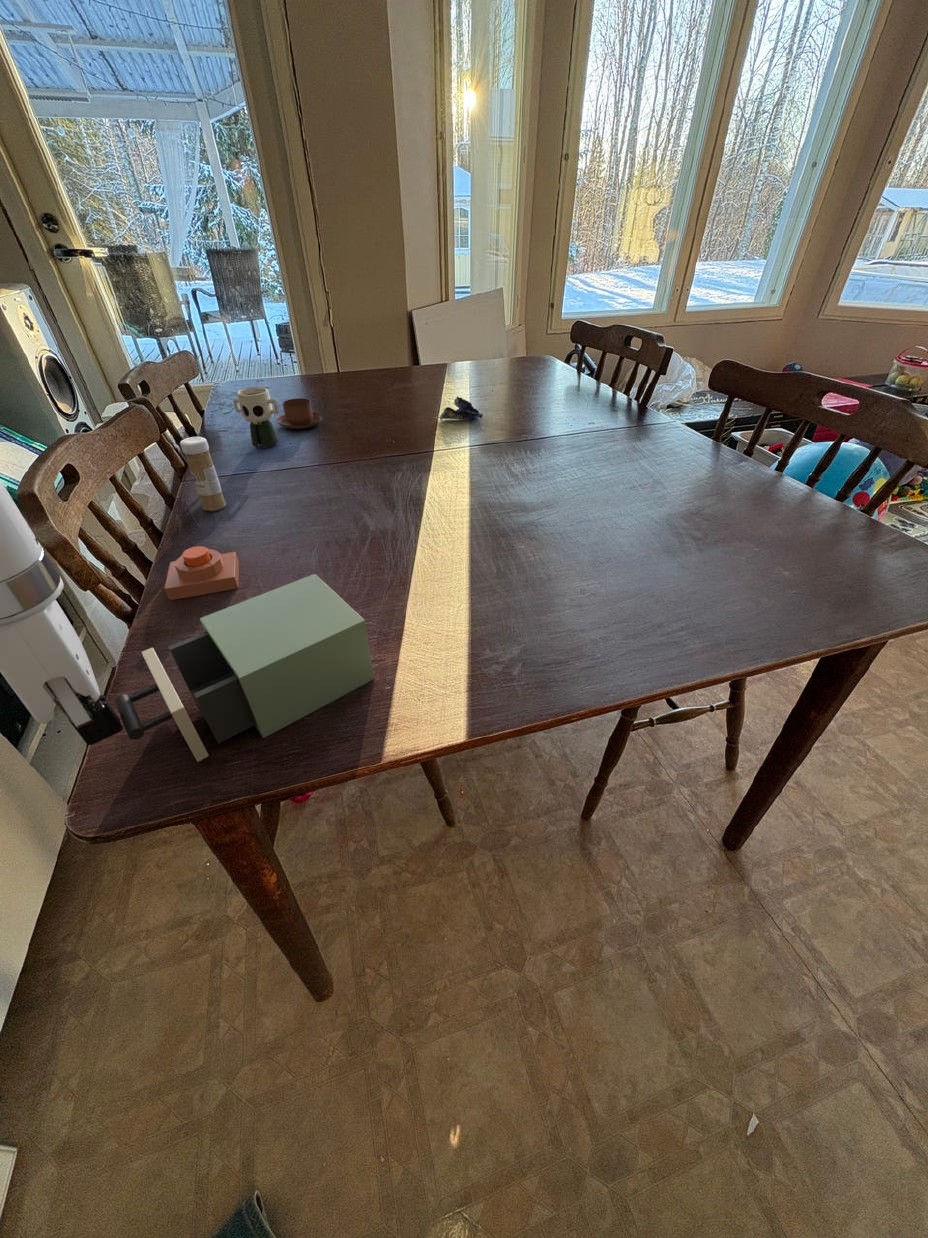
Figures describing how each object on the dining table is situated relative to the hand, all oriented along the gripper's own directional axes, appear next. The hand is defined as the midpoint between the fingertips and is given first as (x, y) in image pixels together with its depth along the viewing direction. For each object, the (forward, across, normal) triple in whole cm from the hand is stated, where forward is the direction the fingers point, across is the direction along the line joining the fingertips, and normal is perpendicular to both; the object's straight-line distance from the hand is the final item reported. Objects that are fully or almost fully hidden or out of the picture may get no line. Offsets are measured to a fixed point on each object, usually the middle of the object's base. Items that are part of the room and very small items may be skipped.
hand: (104, 733), depth 52 cm
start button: (+2, -30, +18) cm, 35 cm away
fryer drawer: (+4, 0, +11) cm, 11 cm away
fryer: (+5, 0, +20) cm, 21 cm away
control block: (+5, -30, +18) cm, 35 cm away
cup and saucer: (+6, -91, +64) cm, 111 cm away
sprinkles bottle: (+6, -56, +28) cm, 63 cm away
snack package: (+6, -67, +101) cm, 122 cm away
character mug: (+6, -82, +50) cm, 97 cm away
